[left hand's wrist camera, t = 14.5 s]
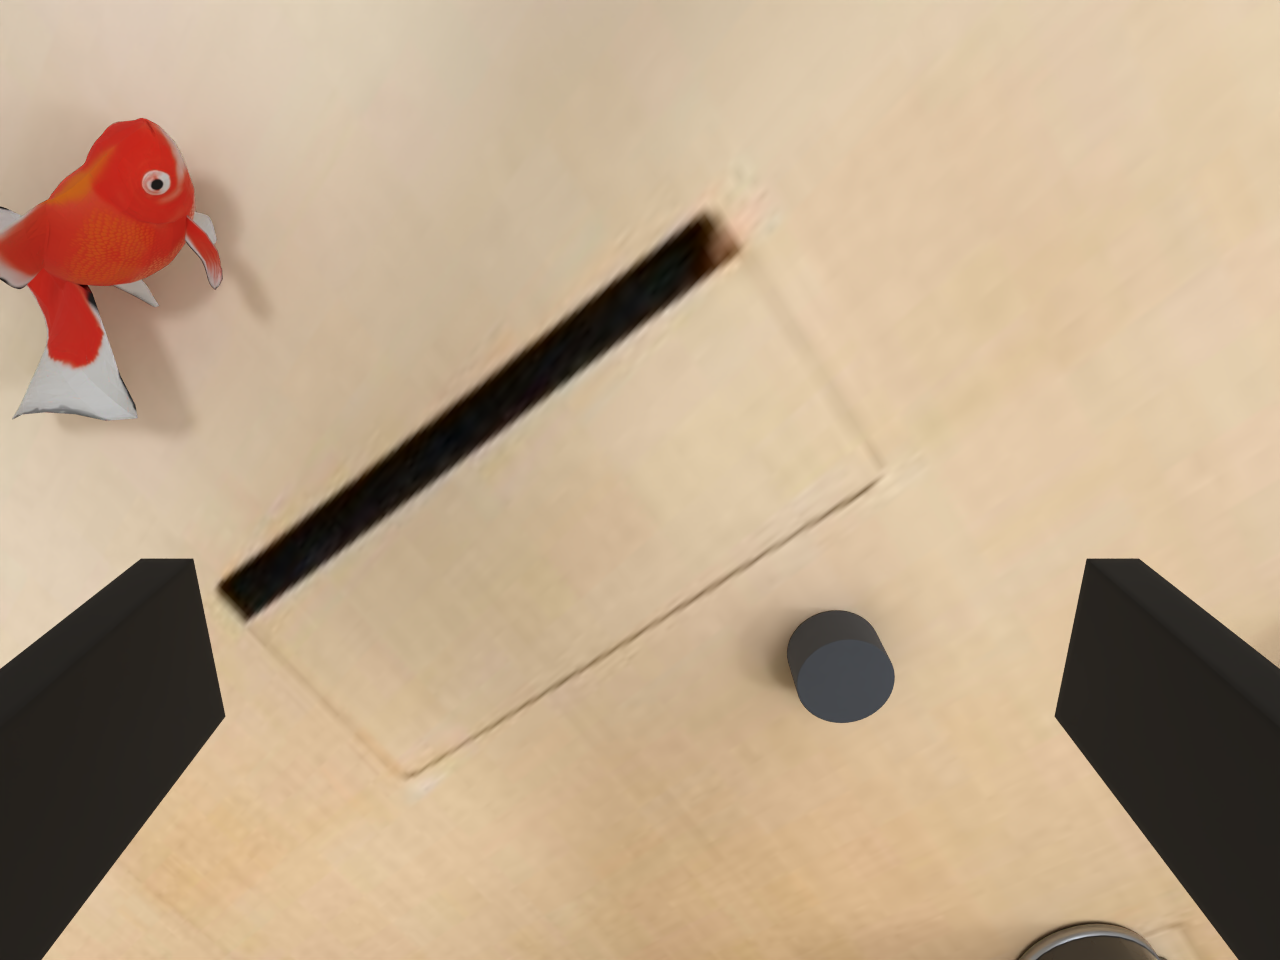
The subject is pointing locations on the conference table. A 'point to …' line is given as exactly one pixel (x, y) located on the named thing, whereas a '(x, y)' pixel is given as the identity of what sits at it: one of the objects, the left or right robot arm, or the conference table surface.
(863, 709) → the puck
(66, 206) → the fish
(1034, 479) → the conference table surface
